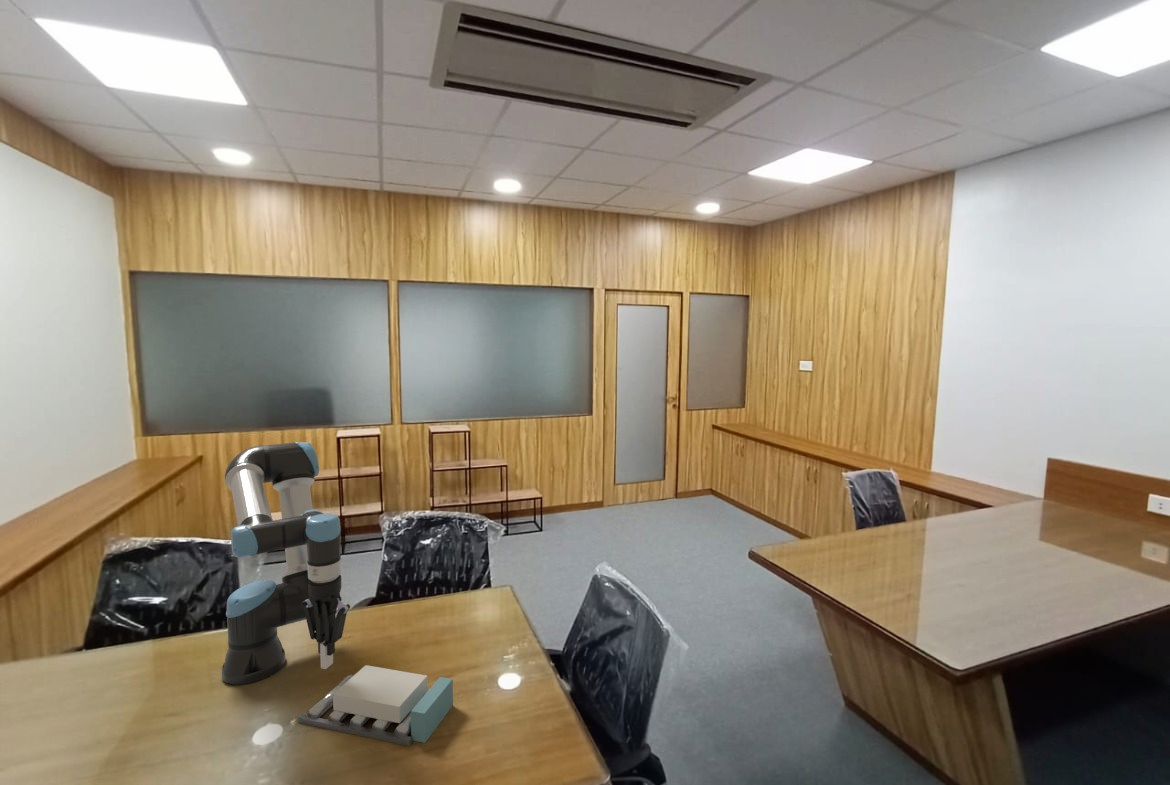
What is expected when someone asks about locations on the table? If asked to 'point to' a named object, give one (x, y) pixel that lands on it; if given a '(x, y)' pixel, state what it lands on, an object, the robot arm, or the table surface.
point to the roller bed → (355, 721)
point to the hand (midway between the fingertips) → (327, 665)
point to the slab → (380, 693)
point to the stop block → (431, 709)
